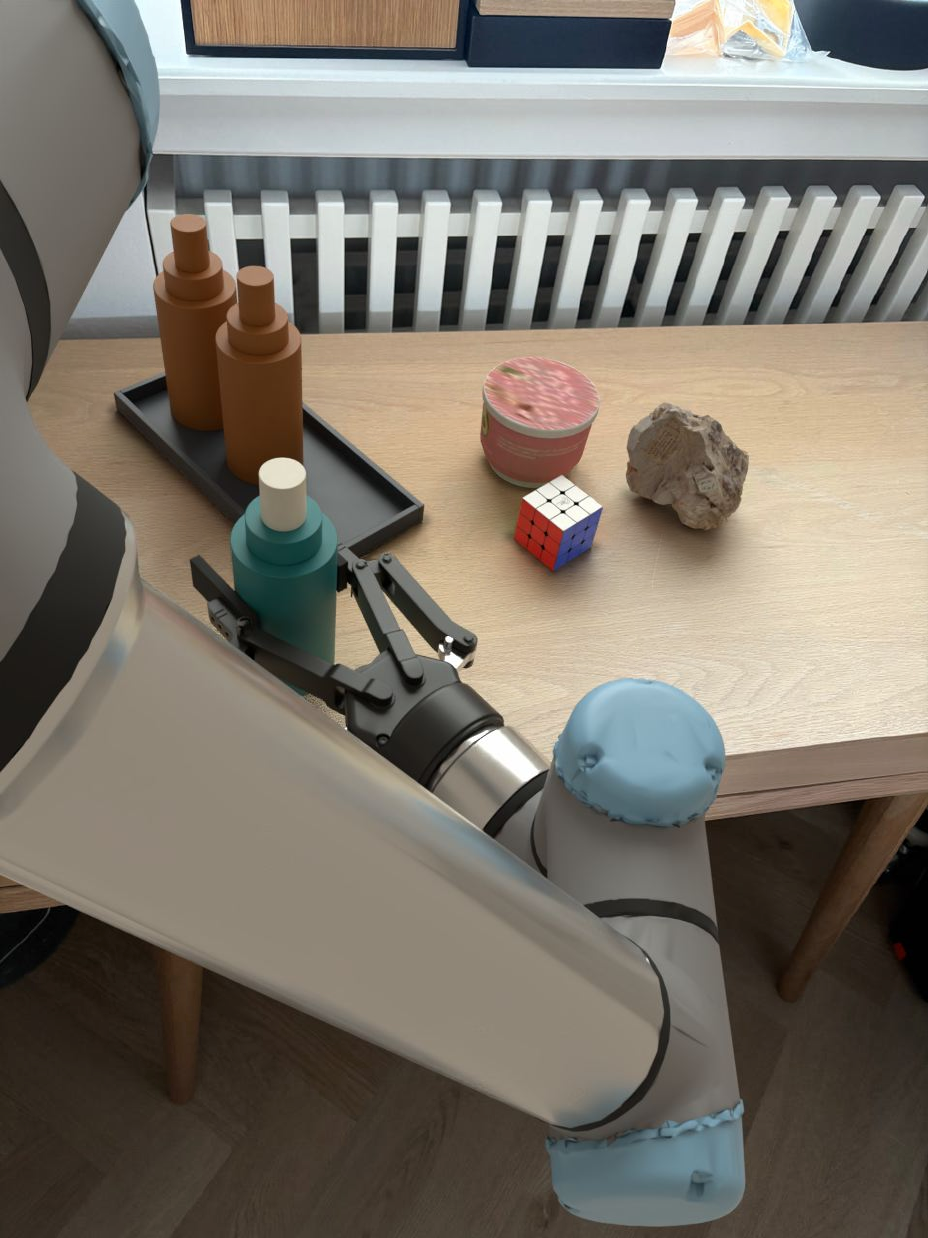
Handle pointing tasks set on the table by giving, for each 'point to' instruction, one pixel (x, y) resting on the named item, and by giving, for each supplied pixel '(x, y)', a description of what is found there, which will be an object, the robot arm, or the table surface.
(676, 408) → the rock
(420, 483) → the table surface
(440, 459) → the table surface
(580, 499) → the rubik's cube
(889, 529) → the table surface
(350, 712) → the robot arm
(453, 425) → the table surface
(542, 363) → the container
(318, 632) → the bottle
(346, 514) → the tray
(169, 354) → the bottle far
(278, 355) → the bottle mid
